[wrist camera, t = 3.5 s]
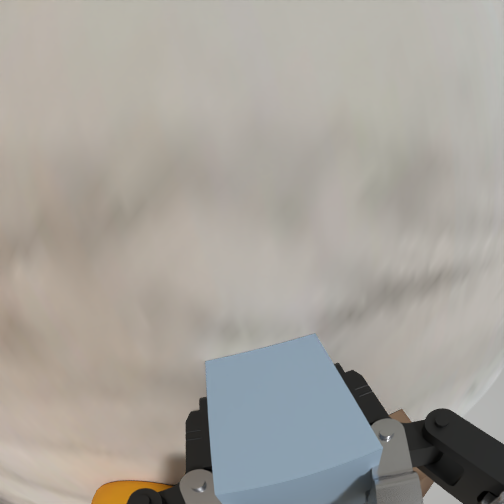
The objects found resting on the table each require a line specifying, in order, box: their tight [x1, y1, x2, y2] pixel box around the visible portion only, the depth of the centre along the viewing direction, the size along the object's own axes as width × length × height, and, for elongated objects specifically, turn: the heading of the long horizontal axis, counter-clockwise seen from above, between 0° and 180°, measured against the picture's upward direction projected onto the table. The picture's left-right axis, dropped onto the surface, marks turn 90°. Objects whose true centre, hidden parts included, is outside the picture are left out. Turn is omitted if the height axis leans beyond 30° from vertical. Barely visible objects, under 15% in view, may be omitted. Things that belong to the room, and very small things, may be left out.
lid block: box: [205, 334, 383, 504], centre depth 10 cm, size 4×4×6 cm
